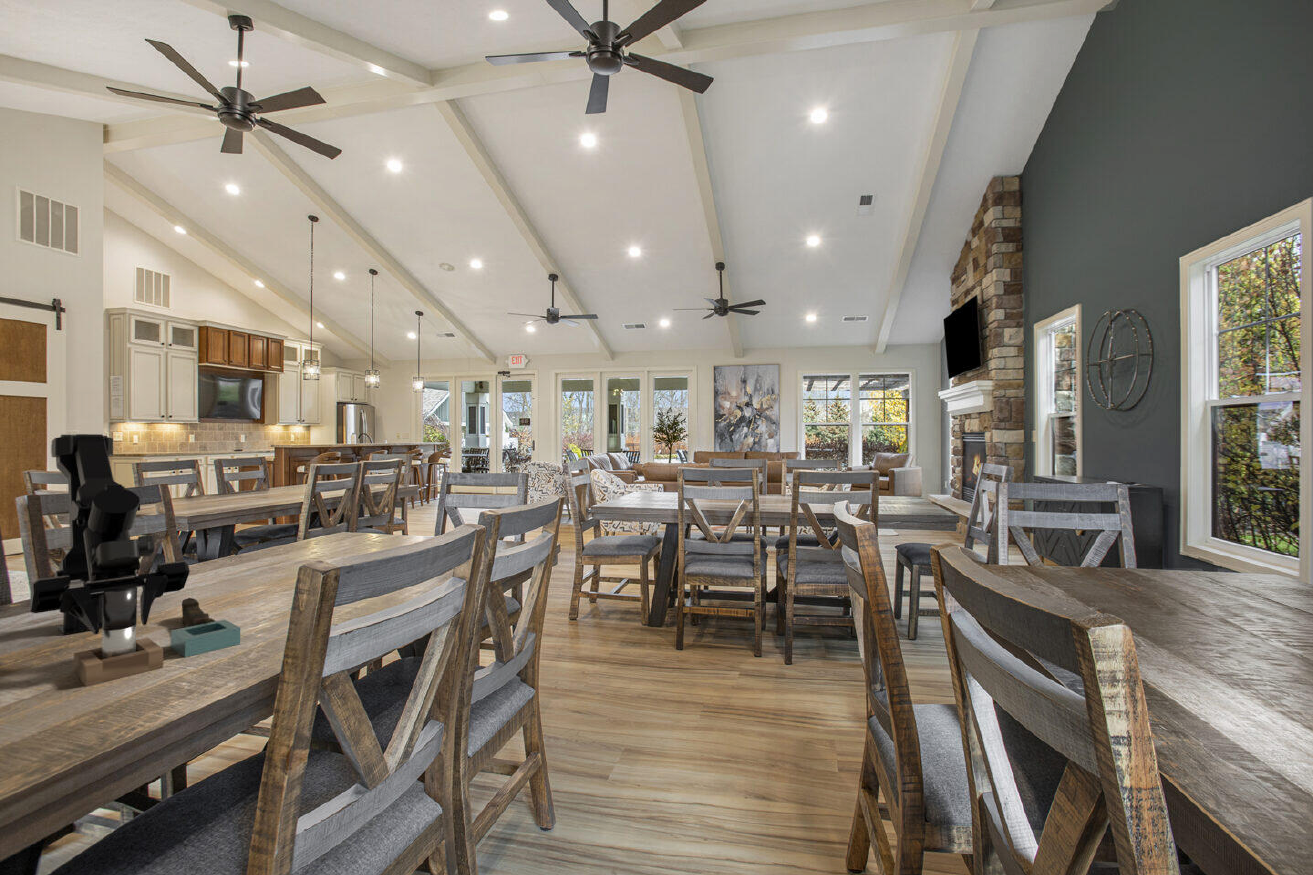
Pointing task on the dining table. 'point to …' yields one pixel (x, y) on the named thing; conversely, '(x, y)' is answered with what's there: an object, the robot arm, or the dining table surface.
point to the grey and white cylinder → (119, 621)
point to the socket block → (205, 637)
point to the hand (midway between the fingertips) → (121, 627)
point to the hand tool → (194, 613)
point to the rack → (117, 663)
